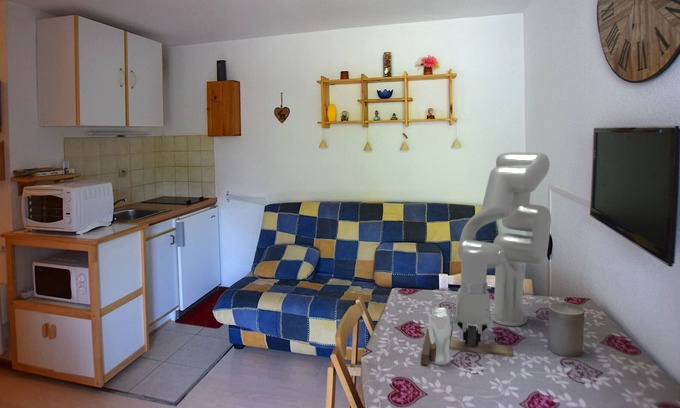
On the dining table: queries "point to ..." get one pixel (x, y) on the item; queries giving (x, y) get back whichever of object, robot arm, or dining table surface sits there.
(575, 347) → the pillar candle
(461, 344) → the brown wooden bent piece
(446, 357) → the beer glass
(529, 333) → the dining table surface
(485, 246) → the robot arm
